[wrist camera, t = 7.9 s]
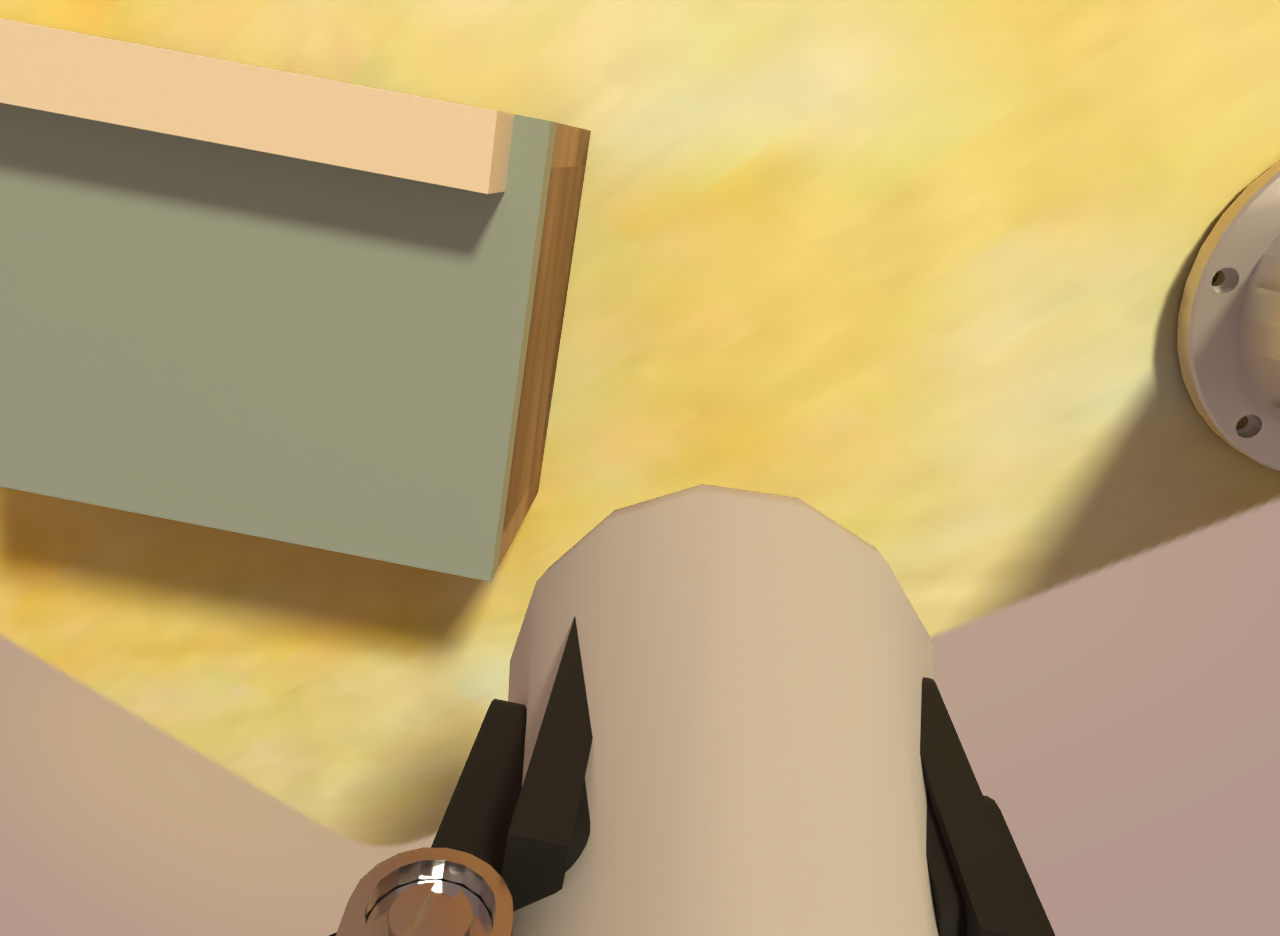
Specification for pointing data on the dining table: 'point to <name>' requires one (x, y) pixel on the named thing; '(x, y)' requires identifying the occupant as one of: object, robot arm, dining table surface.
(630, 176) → the dining table surface
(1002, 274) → the dining table surface
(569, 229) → the toolbox
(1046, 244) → the dining table surface
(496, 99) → the dining table surface
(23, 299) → the lid
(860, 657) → the salt shaker
